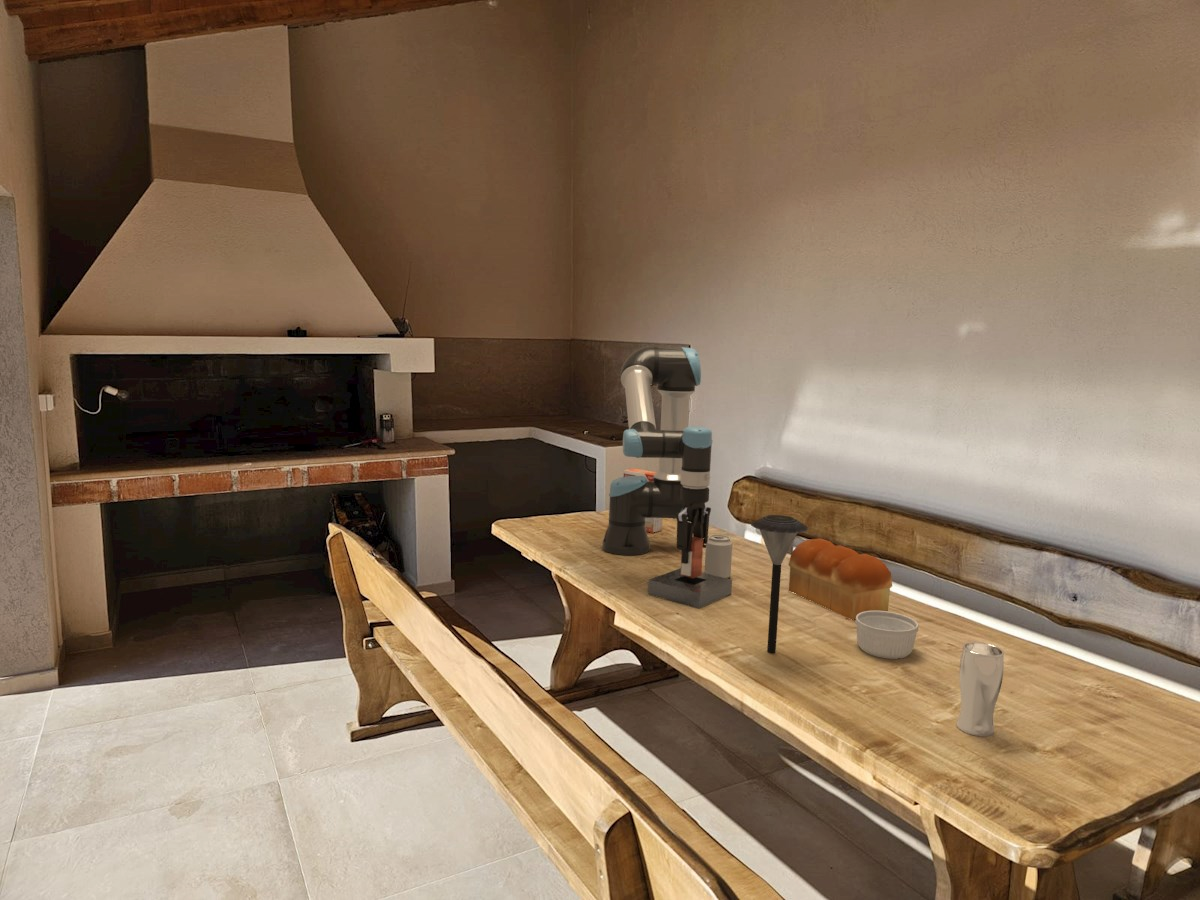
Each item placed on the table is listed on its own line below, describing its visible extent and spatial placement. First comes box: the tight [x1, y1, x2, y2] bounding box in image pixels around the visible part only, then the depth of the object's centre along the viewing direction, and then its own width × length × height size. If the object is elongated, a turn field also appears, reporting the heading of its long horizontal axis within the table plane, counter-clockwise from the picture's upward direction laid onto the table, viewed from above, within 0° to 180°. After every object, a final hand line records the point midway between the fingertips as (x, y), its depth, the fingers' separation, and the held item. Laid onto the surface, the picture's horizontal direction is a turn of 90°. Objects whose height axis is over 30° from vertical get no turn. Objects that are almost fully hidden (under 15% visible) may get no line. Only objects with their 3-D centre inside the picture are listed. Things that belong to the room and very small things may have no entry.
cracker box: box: [623, 467, 663, 534], centre depth 286 cm, size 14×6×21 cm, turn 50°
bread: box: [787, 537, 893, 621], centre depth 212 cm, size 25×12×15 cm, turn 27°
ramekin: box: [854, 610, 919, 660], centre depth 181 cm, size 13×13×7 cm
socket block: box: [647, 567, 733, 609], centre depth 215 cm, size 16×16×4 cm
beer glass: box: [956, 641, 1005, 738], centre depth 144 cm, size 7×7×15 cm
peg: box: [680, 537, 704, 578], centre depth 214 cm, size 4×4×10 cm
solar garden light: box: [750, 514, 809, 654], centre depth 176 cm, size 12×12×30 cm
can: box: [703, 533, 733, 579], centre depth 231 cm, size 8×8×12 cm
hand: (690, 572), depth 215 cm, fingers closed on peg, 4 cm apart
